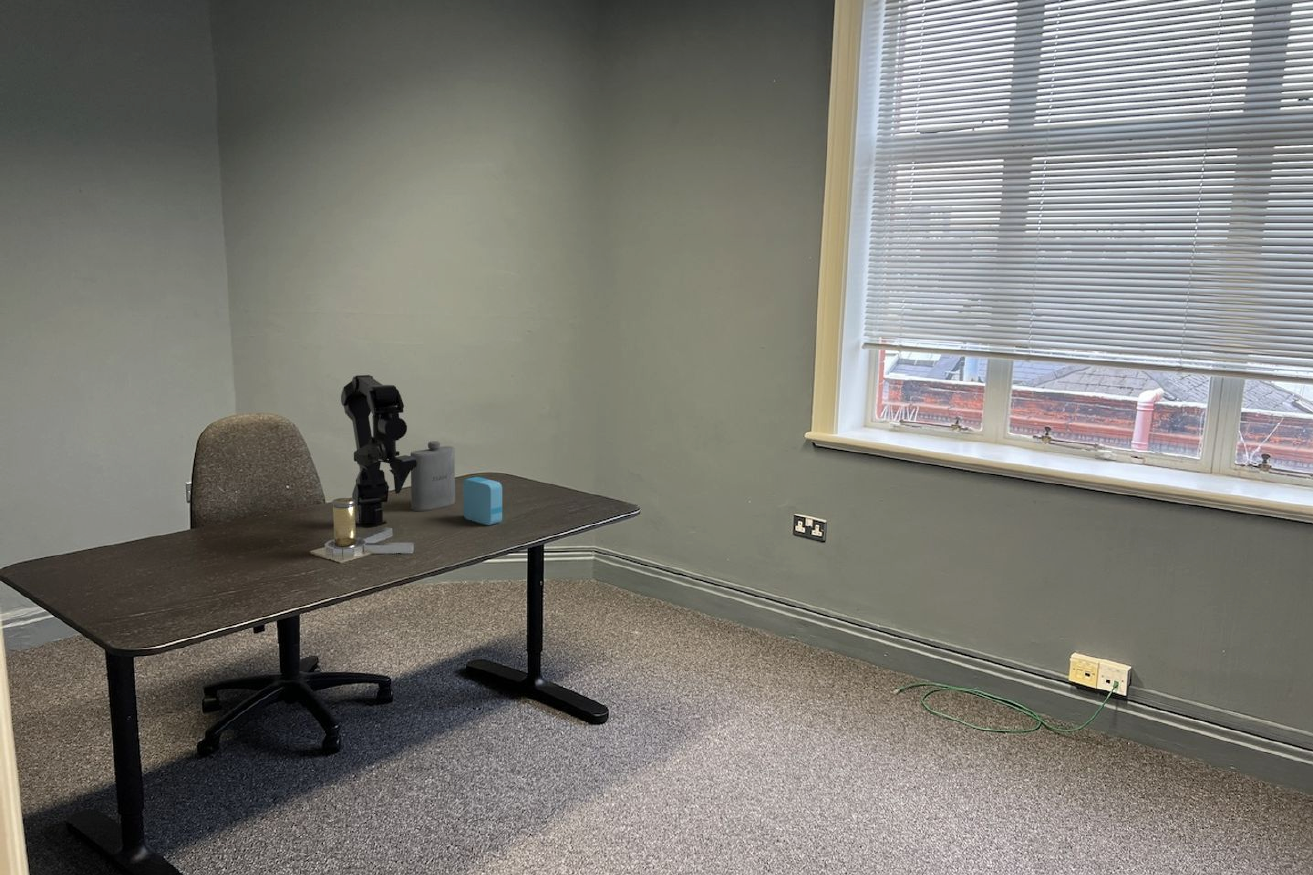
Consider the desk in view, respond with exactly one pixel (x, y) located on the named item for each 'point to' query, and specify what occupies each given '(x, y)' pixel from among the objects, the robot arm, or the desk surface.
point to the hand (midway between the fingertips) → (385, 490)
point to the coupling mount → (364, 547)
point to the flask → (433, 477)
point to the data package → (482, 500)
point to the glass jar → (344, 523)
